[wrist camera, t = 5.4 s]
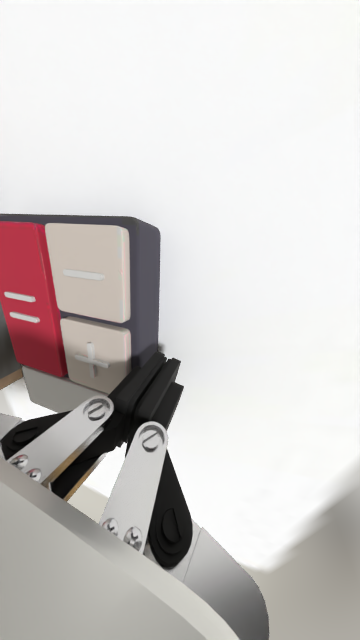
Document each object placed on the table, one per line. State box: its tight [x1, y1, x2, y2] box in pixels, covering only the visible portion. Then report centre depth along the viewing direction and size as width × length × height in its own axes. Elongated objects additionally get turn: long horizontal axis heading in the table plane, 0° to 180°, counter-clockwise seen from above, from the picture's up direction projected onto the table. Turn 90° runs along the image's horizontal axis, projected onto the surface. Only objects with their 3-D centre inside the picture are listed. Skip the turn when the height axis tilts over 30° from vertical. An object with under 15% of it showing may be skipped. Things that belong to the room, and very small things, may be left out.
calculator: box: [0, 214, 160, 413], centre depth 13 cm, size 11×4×15 cm
